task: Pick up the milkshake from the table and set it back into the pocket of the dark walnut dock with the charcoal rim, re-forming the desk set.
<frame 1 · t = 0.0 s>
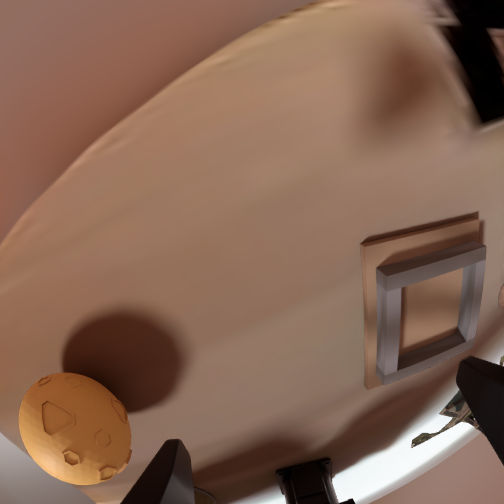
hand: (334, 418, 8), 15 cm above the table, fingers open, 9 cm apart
dock: (423, 305, 24), on the table
stress ball: (92, 391, 24), on the table
canister: (176, 498, 31), on the table
eiffel tower figurine: (457, 400, 31), on the table
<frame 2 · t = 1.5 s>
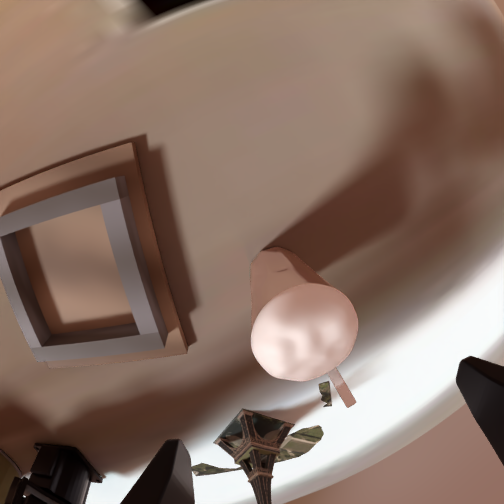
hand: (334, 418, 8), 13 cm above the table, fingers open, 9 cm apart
dock: (79, 271, 19), on the table
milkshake: (277, 274, 20), on the table
eiffel tower figurine: (252, 432, 25), on the table
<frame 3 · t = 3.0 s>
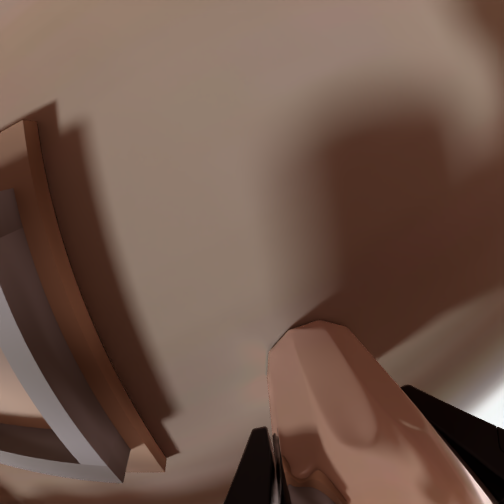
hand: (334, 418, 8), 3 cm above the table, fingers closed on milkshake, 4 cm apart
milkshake: (316, 363, 10), on the table, touching gripper
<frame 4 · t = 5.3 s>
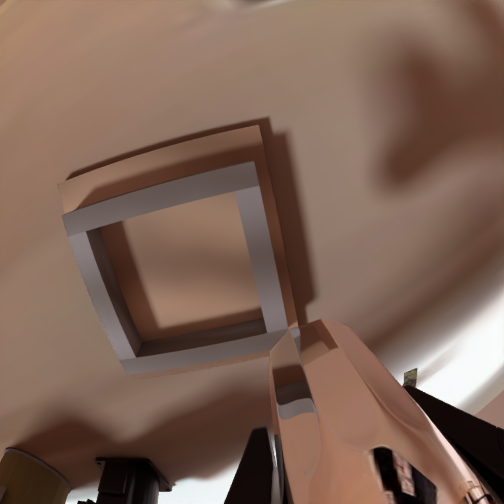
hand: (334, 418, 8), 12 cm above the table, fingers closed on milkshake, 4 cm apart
dock: (182, 267, 18), on the table
canister: (36, 470, 26), on the table
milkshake: (317, 362, 10), point 9 cm above the table, touching gripper
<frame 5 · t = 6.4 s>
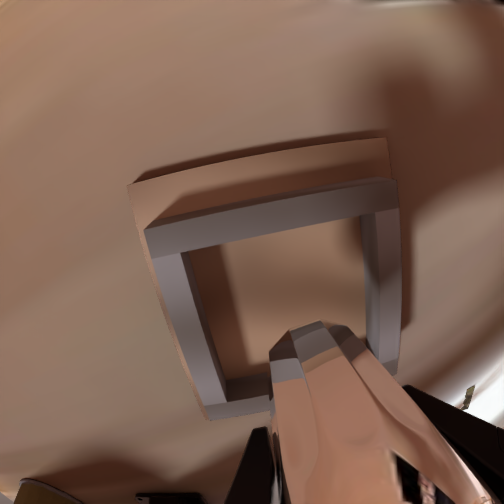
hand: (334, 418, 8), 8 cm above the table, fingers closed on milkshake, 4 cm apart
dock: (285, 295, 16), on the table
canister: (57, 500, 22), on the table
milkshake: (316, 362, 10), point 6 cm above the table, touching gripper
when the fingers open (5 cm above the table, at t = 7.3 s): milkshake drops 1 cm, resting on dock.
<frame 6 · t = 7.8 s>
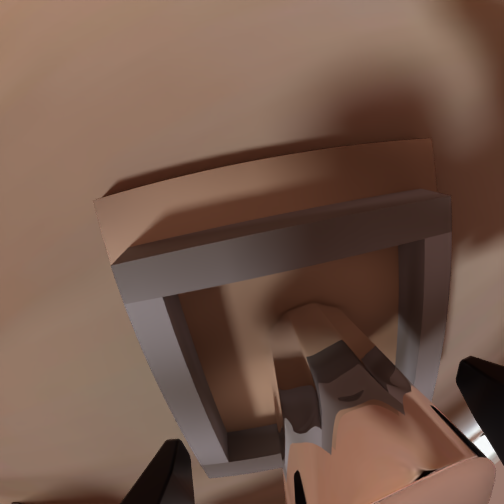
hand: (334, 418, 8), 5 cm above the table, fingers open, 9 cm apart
dock: (300, 336, 12), on the table
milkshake: (312, 343, 12), point 1 cm above the table, touching dock
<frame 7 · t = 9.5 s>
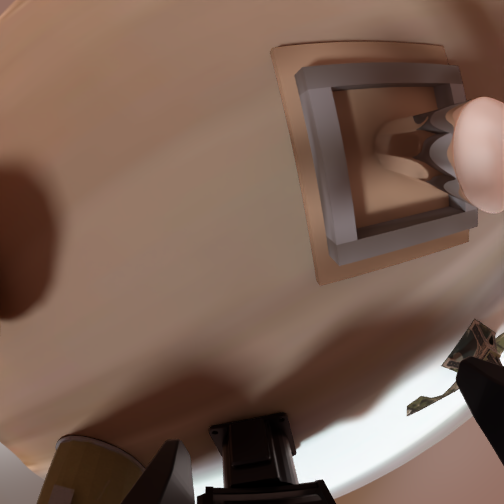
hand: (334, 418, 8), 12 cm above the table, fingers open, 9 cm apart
dock: (388, 152, 17), on the table
canister: (100, 462, 24), on the table
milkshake: (398, 152, 17), point 1 cm above the table, touching dock
eiffel tower figurine: (464, 349, 24), on the table
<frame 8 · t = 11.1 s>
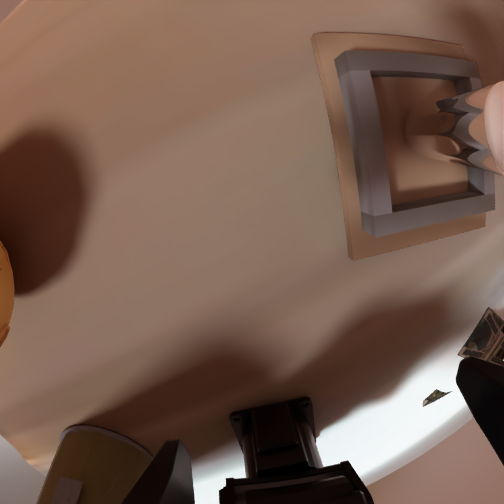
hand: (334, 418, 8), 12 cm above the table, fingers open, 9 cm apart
dock: (415, 137, 18), on the table
canister: (108, 454, 24), on the table
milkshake: (424, 137, 17), point 1 cm above the table, touching dock
eiffel tower figurine: (478, 339, 25), on the table
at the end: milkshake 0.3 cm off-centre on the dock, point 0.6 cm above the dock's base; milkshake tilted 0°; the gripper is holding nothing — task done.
